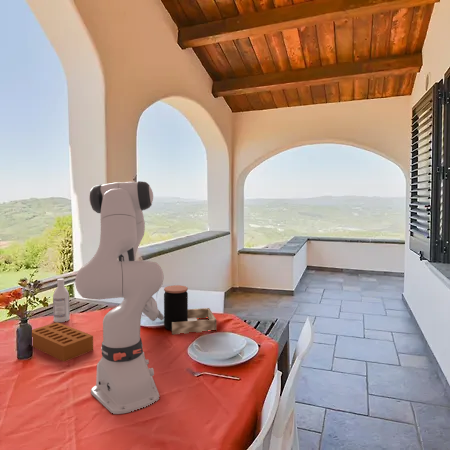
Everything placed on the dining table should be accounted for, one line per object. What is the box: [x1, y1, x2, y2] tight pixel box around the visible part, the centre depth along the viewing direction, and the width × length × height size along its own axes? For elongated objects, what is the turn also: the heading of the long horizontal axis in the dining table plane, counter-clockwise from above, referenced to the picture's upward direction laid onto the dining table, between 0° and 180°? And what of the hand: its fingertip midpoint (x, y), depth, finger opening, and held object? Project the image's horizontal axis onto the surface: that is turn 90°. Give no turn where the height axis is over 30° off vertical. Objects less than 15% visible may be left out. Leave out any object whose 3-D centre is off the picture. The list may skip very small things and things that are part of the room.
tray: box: [171, 307, 217, 335], centre depth 158 cm, size 20×17×5 cm
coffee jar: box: [163, 284, 189, 331], centre depth 156 cm, size 11×11×18 cm
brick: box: [31, 322, 94, 363], centre depth 134 cm, size 25×12×6 cm, turn 56°
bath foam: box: [52, 277, 71, 323], centre depth 162 cm, size 7×7×20 cm
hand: (162, 318), depth 155 cm, fingers closed, pressing on coffee jar
